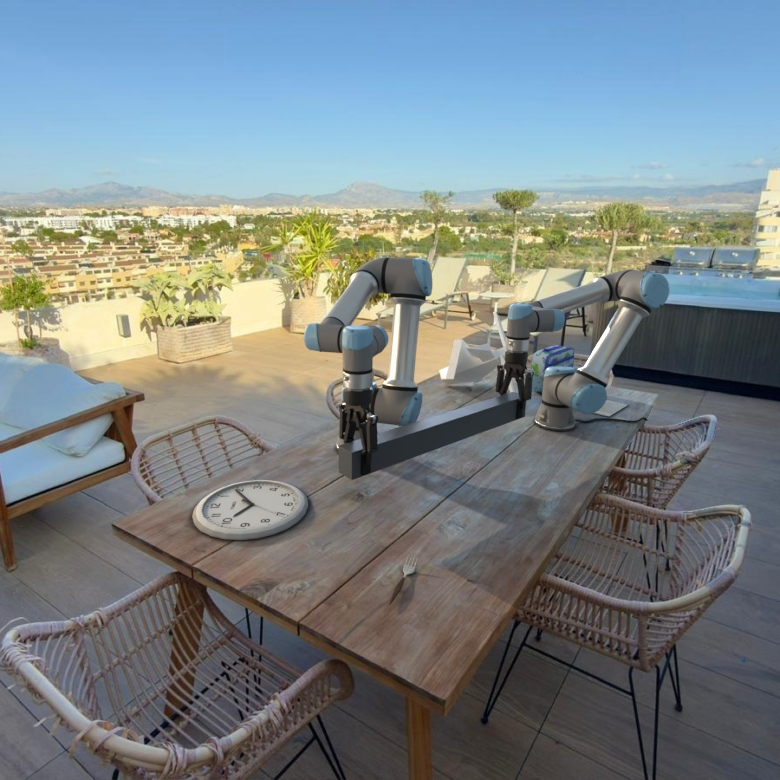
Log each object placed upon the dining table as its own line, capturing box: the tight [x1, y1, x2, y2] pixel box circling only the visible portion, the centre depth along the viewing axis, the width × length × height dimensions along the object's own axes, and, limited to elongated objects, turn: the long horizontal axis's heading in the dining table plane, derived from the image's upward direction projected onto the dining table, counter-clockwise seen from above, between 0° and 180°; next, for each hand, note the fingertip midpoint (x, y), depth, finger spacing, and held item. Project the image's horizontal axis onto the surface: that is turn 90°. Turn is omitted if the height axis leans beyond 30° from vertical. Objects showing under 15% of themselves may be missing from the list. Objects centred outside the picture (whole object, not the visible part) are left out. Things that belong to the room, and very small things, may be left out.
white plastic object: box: [438, 310, 525, 393], centre depth 245 cm, size 37×45×31 cm
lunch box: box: [530, 345, 575, 394], centre depth 245 cm, size 26×11×21 cm, turn 134°
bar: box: [338, 392, 527, 481], centre depth 160 cm, size 76×6×8 cm, turn 131°
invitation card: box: [593, 399, 629, 418], centre depth 226 cm, size 21×1×15 cm
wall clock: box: [191, 479, 309, 541], centre depth 140 cm, size 30×2×30 cm
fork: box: [388, 554, 419, 606], centre depth 112 cm, size 3×16×2 cm, turn 160°
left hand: (358, 469), depth 140 cm, fingers closed on bar, 6 cm apart
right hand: (511, 415), depth 182 cm, fingers closed on bar, 6 cm apart
